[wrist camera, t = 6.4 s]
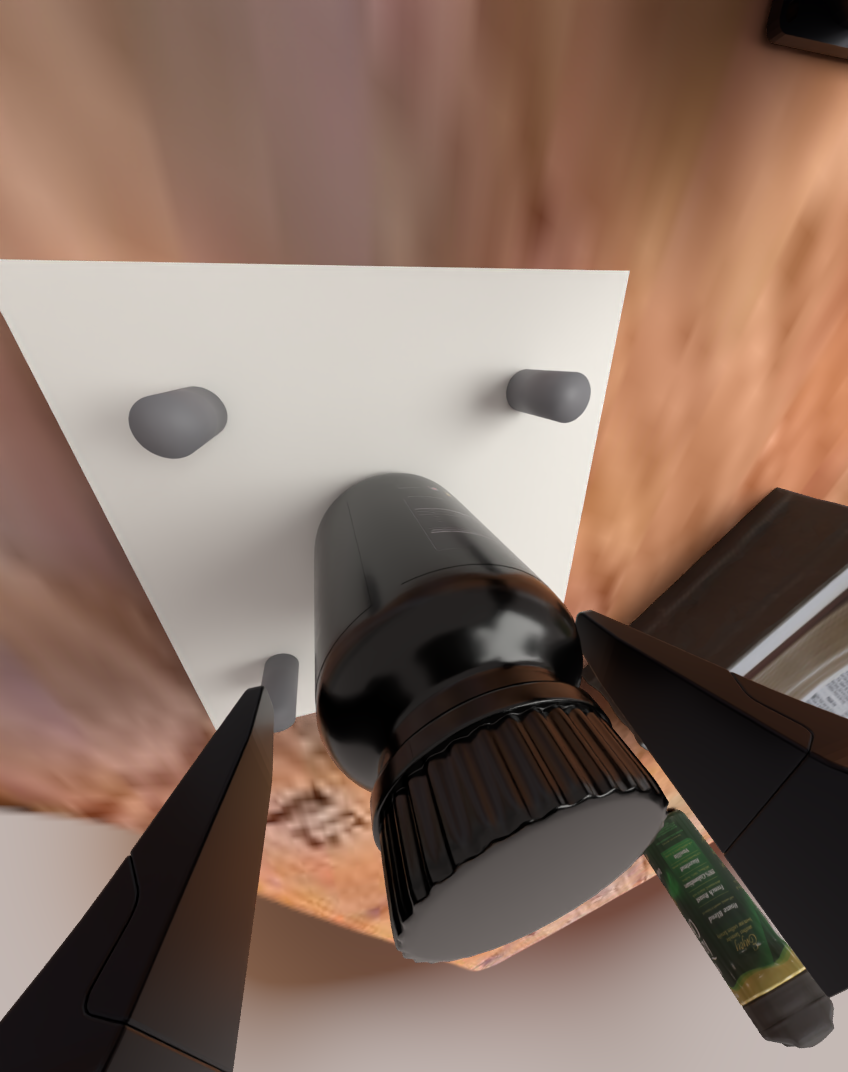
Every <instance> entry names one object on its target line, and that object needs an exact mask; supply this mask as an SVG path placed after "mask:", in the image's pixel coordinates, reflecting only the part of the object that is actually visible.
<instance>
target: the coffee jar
mask: <svg viewBox="0 0 848 1072" xmlns="http://www.w3.org/2000/svg"><path fill="white" fill-rule="evenodd" d="M644 856H645V857H646V859H647V860H648V862H649V863H650V865H651V866H652V868H653V869H654V871H655V873H656V874H657V876H658V877H659V879H660V880H661V882H662V883H663V885H664V886H665V888H666V889H667V891H668V893H669V894H670V896H671V897H672V899H673V901H674V902H675V904H676V905H677V907H678V908H679V910H680V912H681V913H682V915H683V916H684V918H685V919H686V921H687V923H688V924H689V926H690V927H691V929H692V930H693V932H694V933H695V935H696V936H697V938H698V940H699V941H700V943H701V944H702V946H703V947H704V949H705V951H706V952H707V954H708V955H709V957H710V958H711V960H712V961H713V963H714V964H715V966H716V967H717V969H718V970H719V972H720V974H721V975H722V977H723V978H724V980H725V981H726V983H727V984H728V986H729V987H730V989H731V990H732V992H733V994H734V995H735V996H736V998H737V1000H738V1001H739V1003H740V1004H741V1005H742V1006H743V1009H744V1010H745V1011H746V1013H747V1014H748V1016H749V1017H750V1019H751V1020H752V1022H753V1024H754V1025H755V1026H756V1028H757V1029H758V1031H759V1033H760V1034H761V1035H762V1037H763V1038H764V1039H765V1040H767V1041H772V1042H777V1043H782V1044H783V1045H785V1046H787V1047H788V1046H789V1047H790V1046H796V1047H798V1048H806V1047H813V1046H815V1045H817V1044H818V1043H820V1042H821V1041H822V1040H824V1038H826V1037H827V1036H828V1035H829V1034H830V1033H831V1032H832V1030H833V1029H834V1025H833V1010H834V1008H833V1003H832V1001H831V1000H830V998H828V997H827V996H826V995H825V993H824V992H823V991H822V990H821V989H820V987H819V986H818V985H817V983H816V982H815V981H814V980H813V978H812V977H811V975H810V974H809V973H808V971H807V970H806V968H805V967H804V966H803V964H802V963H801V962H800V960H799V959H798V957H797V956H796V955H795V953H794V952H793V951H792V950H791V948H790V947H789V946H788V945H787V943H786V942H785V941H784V940H783V938H782V937H781V936H780V935H779V933H778V932H777V931H776V930H775V929H774V927H773V926H772V925H771V924H770V922H769V921H768V920H767V918H766V917H765V916H764V915H763V913H762V912H761V911H760V910H759V908H758V907H757V906H756V905H755V903H754V902H753V901H752V899H751V898H750V897H749V896H748V894H747V893H746V892H745V891H744V889H743V888H742V887H741V885H740V884H739V883H738V882H737V881H736V879H735V878H734V877H733V875H732V874H731V873H730V871H729V870H728V869H727V868H726V866H725V865H724V864H723V863H722V861H721V860H720V859H719V857H718V856H717V855H716V853H715V852H714V851H713V850H712V848H711V847H710V846H709V844H708V843H707V842H706V840H705V839H704V838H703V837H702V835H701V834H700V833H699V831H698V830H697V829H696V828H695V826H694V825H693V824H692V822H691V821H690V820H689V819H688V817H687V816H686V815H685V814H684V813H683V812H682V811H680V810H674V811H673V812H670V813H669V814H668V815H667V817H666V819H665V820H664V827H663V828H662V829H661V830H660V832H659V833H658V834H657V837H656V839H655V840H654V842H653V843H652V844H651V845H650V846H649V847H648V848H647V849H646V851H645V852H644Z"/></svg>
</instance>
